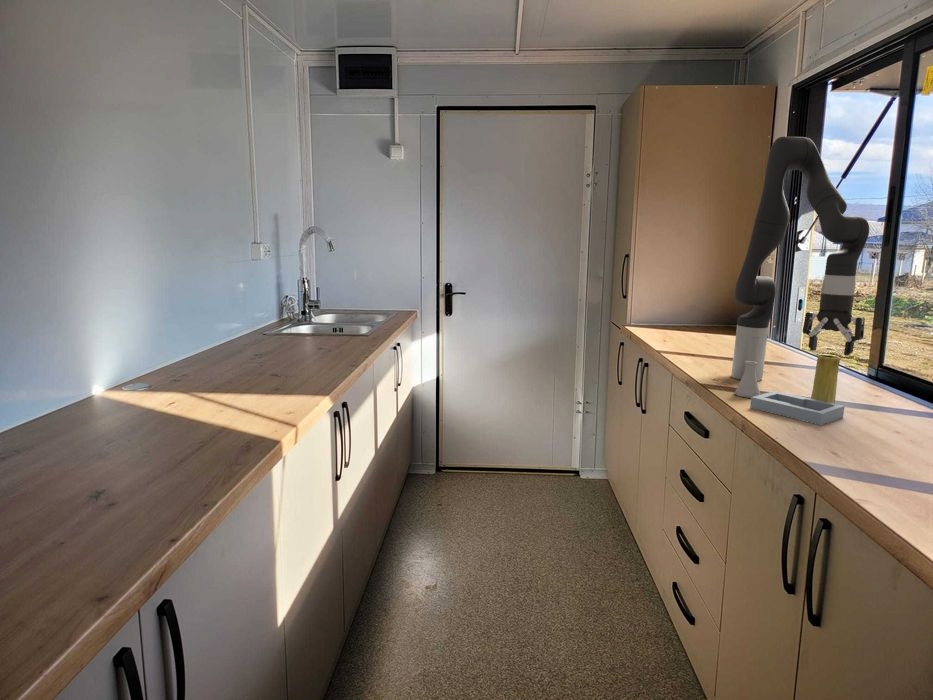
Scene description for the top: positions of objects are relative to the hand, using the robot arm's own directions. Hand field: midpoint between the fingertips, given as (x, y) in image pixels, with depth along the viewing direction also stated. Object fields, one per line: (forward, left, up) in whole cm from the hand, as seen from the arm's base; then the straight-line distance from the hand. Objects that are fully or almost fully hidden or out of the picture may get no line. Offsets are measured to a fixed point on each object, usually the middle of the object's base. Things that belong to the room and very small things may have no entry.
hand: (829, 352), depth 166 cm
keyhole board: (+12, -2, -15) cm, 19 cm away
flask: (+6, -18, -15) cm, 24 cm away
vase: (0, 0, -15) cm, 15 cm away
